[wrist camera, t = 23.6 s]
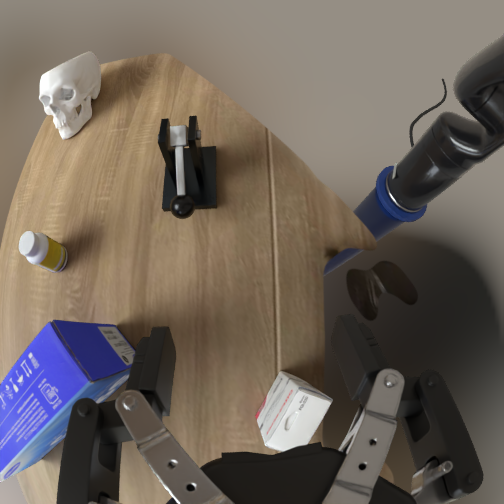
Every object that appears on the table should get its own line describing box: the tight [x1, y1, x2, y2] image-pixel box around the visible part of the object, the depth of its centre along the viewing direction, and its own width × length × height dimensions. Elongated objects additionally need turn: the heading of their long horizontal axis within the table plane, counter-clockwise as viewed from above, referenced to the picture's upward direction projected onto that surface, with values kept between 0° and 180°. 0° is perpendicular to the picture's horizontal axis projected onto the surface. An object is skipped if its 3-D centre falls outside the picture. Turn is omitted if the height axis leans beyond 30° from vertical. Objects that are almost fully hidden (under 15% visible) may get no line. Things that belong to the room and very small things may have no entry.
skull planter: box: [39, 51, 101, 139], centre depth 46 cm, size 14×20×19 cm
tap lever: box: [170, 125, 195, 219], centre depth 36 cm, size 13×4×4 cm
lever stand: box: [158, 116, 217, 212], centre depth 40 cm, size 12×9×14 cm
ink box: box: [255, 371, 333, 452], centre depth 32 cm, size 9×5×12 cm, turn 153°
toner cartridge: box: [0, 320, 135, 482], centre depth 25 cm, size 39×8×18 cm, turn 135°
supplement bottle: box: [19, 231, 67, 273], centre depth 36 cm, size 5×5×10 cm
